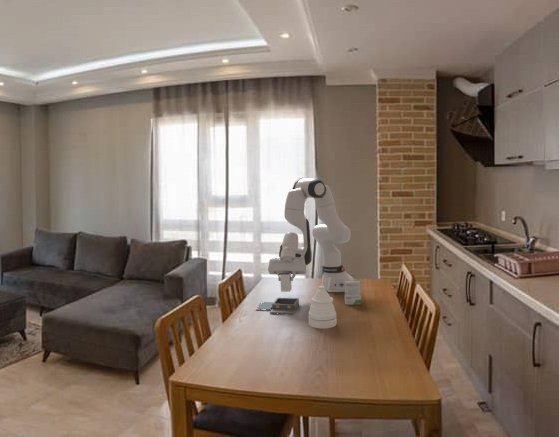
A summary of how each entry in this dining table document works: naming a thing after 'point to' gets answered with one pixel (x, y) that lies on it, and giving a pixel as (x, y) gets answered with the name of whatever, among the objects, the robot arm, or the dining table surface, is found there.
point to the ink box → (353, 292)
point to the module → (285, 281)
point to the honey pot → (322, 310)
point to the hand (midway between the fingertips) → (285, 280)
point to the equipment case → (285, 305)
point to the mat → (265, 305)
